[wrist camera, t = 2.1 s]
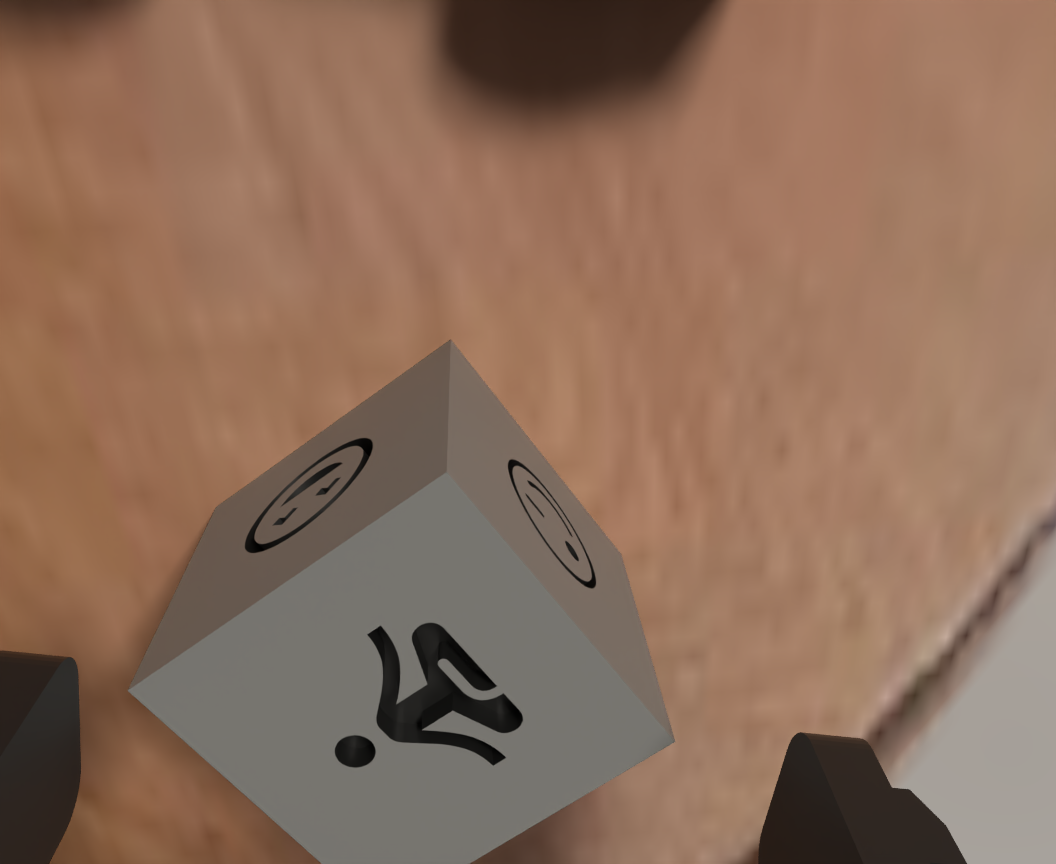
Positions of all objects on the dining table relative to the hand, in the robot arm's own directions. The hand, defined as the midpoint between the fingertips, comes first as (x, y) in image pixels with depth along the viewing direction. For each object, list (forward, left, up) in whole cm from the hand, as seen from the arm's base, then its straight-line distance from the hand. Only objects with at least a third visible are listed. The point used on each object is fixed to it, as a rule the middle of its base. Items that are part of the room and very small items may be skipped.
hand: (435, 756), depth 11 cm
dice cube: (0, -1, -7) cm, 7 cm away
